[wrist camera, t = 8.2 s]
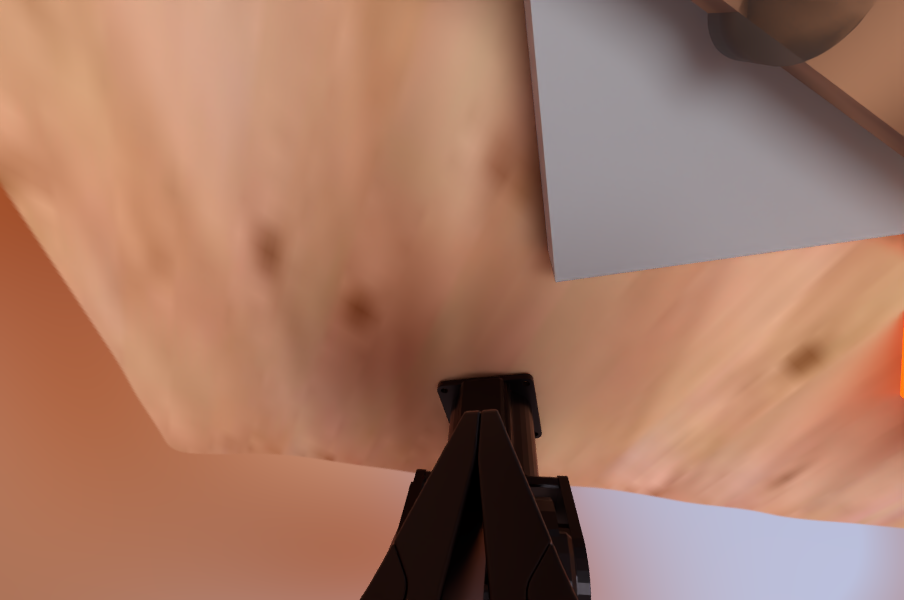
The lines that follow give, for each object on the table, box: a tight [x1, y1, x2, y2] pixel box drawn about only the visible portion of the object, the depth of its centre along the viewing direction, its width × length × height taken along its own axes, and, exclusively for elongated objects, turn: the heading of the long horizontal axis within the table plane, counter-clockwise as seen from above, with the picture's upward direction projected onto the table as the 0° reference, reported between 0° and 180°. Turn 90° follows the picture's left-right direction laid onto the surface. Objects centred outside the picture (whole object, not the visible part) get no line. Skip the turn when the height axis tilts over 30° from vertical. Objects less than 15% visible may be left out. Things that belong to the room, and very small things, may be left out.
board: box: [524, 0, 904, 282], centre depth 12 cm, size 16×14×4 cm
